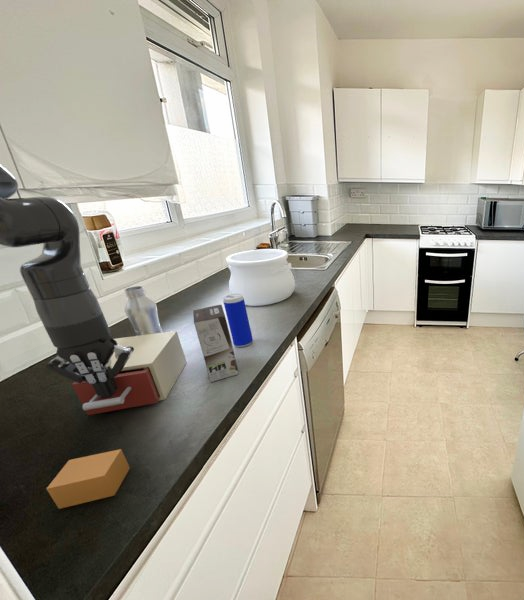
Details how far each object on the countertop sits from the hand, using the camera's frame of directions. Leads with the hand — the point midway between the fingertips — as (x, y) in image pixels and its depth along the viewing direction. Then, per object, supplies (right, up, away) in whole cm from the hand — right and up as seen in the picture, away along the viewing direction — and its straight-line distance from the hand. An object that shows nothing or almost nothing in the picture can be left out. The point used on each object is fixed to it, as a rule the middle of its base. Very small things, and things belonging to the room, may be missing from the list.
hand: (109, 394), depth 62 cm
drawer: (-2, -2, +8) cm, 9 cm away
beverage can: (+11, +6, +31) cm, 33 cm away
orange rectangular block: (+9, -11, -12) cm, 19 cm away
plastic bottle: (-10, +3, +25) cm, 27 cm away
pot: (+2, +20, +66) cm, 69 cm away
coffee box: (+12, +1, +19) cm, 22 cm away
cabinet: (-4, -2, +13) cm, 14 cm away
